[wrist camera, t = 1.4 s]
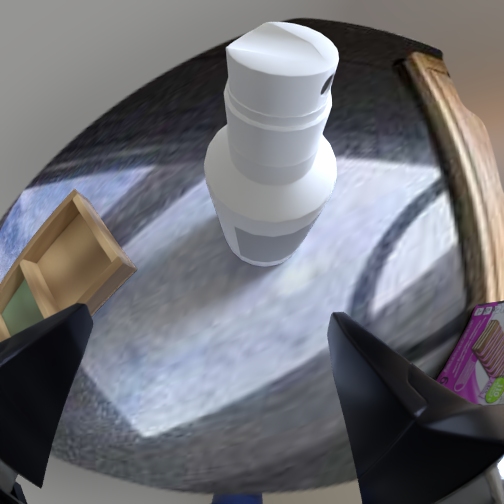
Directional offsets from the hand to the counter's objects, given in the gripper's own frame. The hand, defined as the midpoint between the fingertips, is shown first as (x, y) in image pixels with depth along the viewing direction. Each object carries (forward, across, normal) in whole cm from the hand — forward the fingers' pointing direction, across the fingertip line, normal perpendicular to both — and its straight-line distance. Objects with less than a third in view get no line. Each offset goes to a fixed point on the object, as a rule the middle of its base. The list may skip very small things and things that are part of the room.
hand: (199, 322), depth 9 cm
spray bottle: (+16, -3, +2) cm, 16 cm away
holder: (+11, +19, +8) cm, 23 cm away
